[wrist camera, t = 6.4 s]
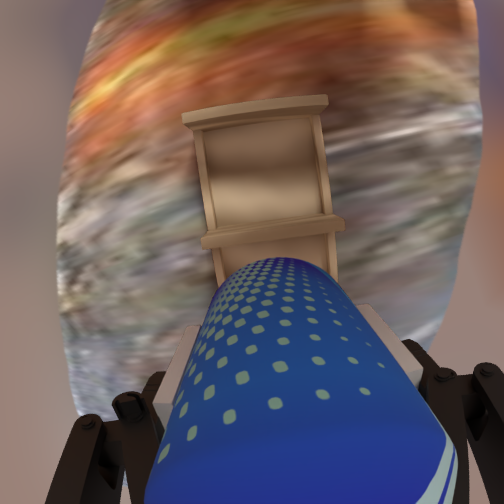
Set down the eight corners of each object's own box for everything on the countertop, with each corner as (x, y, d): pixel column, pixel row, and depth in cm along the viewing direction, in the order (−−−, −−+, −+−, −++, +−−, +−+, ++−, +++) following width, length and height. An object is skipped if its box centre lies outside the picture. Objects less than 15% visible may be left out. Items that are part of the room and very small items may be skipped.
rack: (196, 126, 31) (181, 113, 24) (312, 111, 31) (326, 94, 24) (230, 326, 37) (224, 358, 30) (334, 312, 36) (349, 340, 29)
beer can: (246, 387, 20) (235, 610, 4) (186, 286, 18) (41, 530, 3) (358, 341, 19) (469, 549, 3) (314, 228, 17) (539, 429, 2)
